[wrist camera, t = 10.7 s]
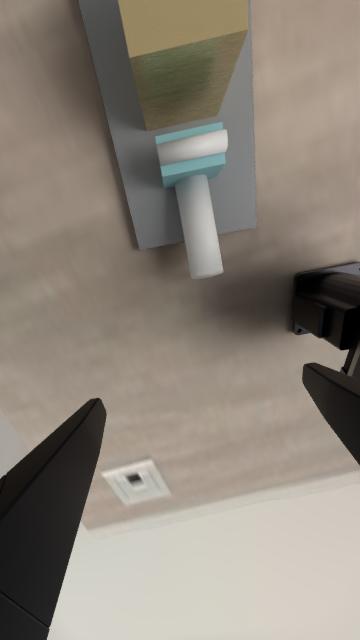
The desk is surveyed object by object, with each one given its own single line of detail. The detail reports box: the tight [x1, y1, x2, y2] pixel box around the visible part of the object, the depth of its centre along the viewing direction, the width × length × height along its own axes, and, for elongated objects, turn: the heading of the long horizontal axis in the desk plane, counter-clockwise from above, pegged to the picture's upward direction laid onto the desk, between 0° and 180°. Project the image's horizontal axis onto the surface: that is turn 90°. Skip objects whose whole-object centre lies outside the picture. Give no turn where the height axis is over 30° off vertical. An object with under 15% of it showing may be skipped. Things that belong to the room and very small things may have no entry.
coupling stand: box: [78, 0, 257, 279], centre depth 11 cm, size 10×26×5 cm, turn 10°
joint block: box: [118, 0, 249, 131], centre depth 10 cm, size 5×5×6 cm
